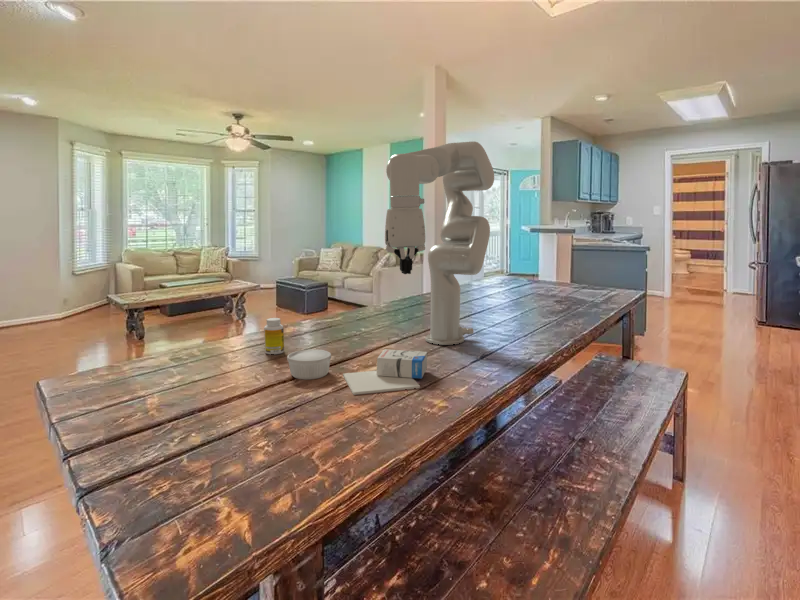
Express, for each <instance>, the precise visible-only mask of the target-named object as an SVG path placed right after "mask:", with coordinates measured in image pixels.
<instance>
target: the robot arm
mask: <svg viewBox="0 0 800 600" xmlns="http://www.w3.org/2000/svg"><path fill="white" fill-rule="evenodd" d="M385 172H386V176H387V178H388V180H389V187H390V188H389V189H390V191H389V193H390V195H389V196H390V197H389V198H390V208H389V209H387V210H386V218H385V227H384V228H385V230H384V243H385V246H386V247H385V251H386V252H387V253H391V254H395V256H397V258H398V259H399V271H400V272H401V274H403V275H410V274H412V271H413V259H414V257H415V256H416V255H417V254H418V253H419V252H423V251H425V250H426V246H425V244H426V227H425V226H426V225H425V219H424V213H423V210H422V208H420V207H421V205H423V204H425V198H422V197H421V196H420V185H425V184H431V183H433V182H434V181H435V180H437V179H438V178H440V177H442V184H443V188H444V193H445V198H446V202H447V208H446V211H445V215H444V218H443V221H442V225H441V228H440V236H439V237H440V240H441V241H442V243H438V244H434V245H433V246H432V247H430V249H429V251H428V254H427V262H428V269H429V275H430V320H429V322H430V323H429V324H430V326H429V329H430V331H429V333H428V334H427V335H426V336H425V337H424V338H425V341H426V342H427V343H430V344H432V343H433V345H438V344H439V345H440V346H453V344H455V345H459V343H460V344H462V343H464V342H465V337H464V336H465V335H473V334H474V329H473V327H469V328H467V327H463V326H461V325H460V324H461V323H460V320H461V319H460V317H461V315H460V314H461V285H460V283H459V281H458V279H457V278H456V276H455V275H463V276H464V275H465V276H474V275H475V276H476V275H478V274H479V273H480V272H481V270H482V268H483V267H484V262H485V256H486V254H487V248H488V245H489V241H490V236H491V227H490V222H489V220H488V219H487V218H486V217H484V216H480V215H472V214H473V209H474V207H473V206H474V205H473V204H472V203H471V201H470V199H469V197H467V196H466V195H465V193H464V192H472V191H473V192H475V191H480V192H481V191H488V190H490V189H491V188H492V187H493V185H494V183H495V172H494V168H493V166H492V164H491V160H490V158H489V155H488V154H487V152H486V150H485V148H484V147H483V146H482V144H481V143H479V142H478V141H473V140H472V141H461V142H459V141H458V142H450V143H446V144H441V145H438V146H434V147H431V148H425V149H421V150H417V151H412V152H411V151H410V152H407V153H396V154H393V155H391V156H390V159H389V160H388V162H387V165H386V171H385ZM405 248H406V251H405ZM405 253H406V254H405ZM439 345H438V346H439Z"/></svg>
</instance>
